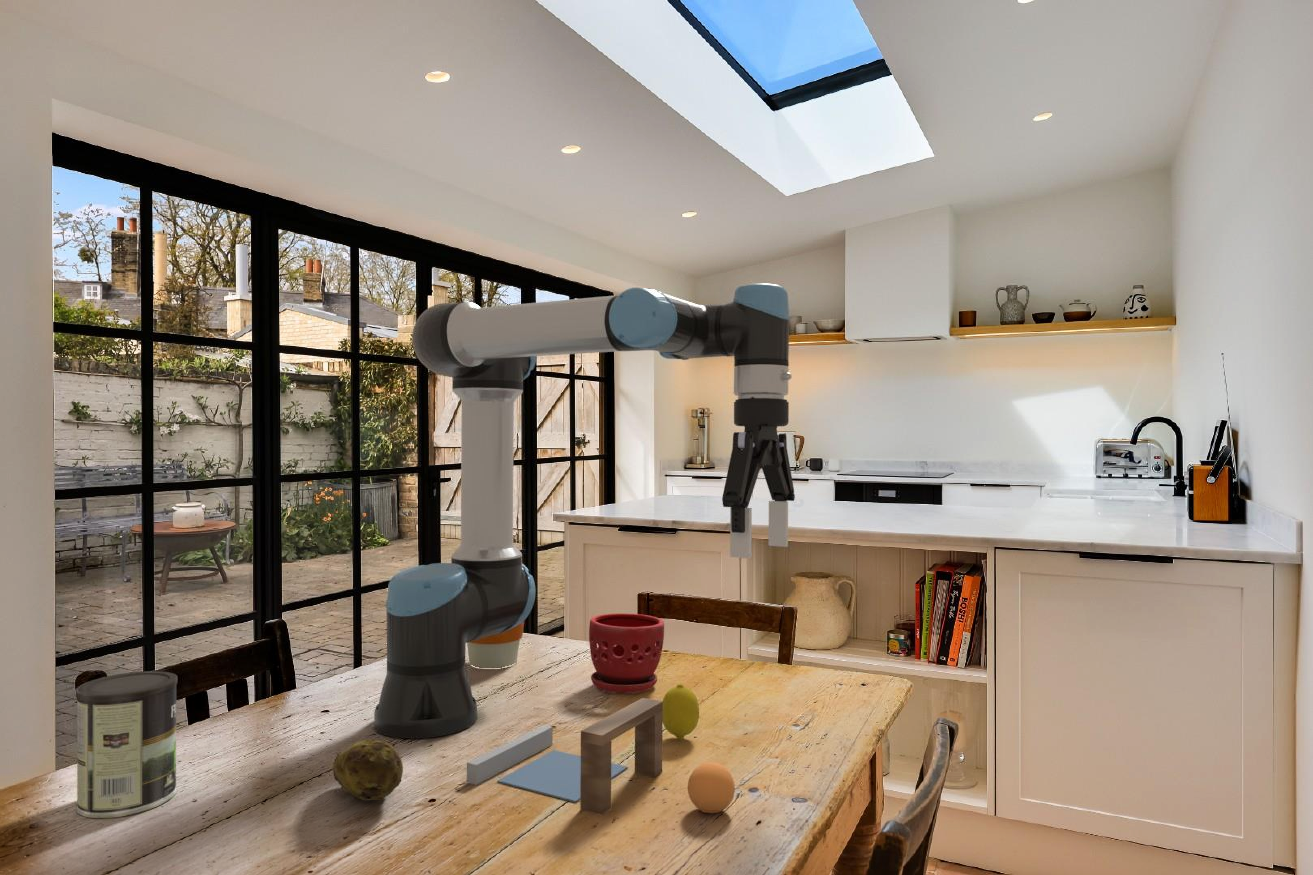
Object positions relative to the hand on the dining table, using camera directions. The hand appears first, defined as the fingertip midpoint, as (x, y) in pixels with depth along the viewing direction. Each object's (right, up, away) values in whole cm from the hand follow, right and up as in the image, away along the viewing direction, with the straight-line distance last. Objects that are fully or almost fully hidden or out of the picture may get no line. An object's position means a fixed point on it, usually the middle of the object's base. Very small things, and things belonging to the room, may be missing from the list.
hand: (760, 551), depth 116 cm
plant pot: (-20, -28, +31) cm, 46 cm away
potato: (-49, -28, -15) cm, 59 cm away
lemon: (-11, -28, +6) cm, 31 cm away
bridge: (-18, -28, -12) cm, 36 cm away
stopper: (-34, -28, -3) cm, 44 cm away
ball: (-8, -25, -18) cm, 32 cm away
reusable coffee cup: (-46, -28, +46) cm, 71 cm away
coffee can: (-78, -28, -15) cm, 84 cm away
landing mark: (-26, -28, -8) cm, 39 cm away
